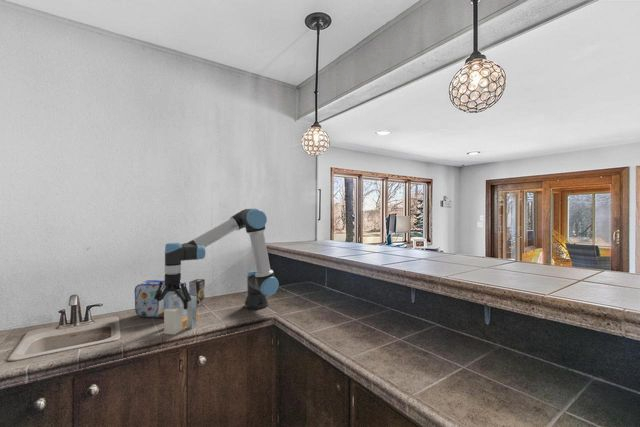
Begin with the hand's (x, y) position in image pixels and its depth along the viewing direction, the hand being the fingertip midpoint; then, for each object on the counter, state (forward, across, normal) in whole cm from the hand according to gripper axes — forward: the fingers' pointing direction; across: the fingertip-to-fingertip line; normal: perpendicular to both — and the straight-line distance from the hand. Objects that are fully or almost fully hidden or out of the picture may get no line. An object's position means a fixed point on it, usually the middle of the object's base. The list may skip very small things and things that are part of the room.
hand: (172, 314), depth 154 cm
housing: (+9, 0, -8) cm, 12 cm away
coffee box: (+9, +16, -44) cm, 47 cm away
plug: (+9, 0, -8) cm, 12 cm away
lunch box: (+10, +24, -20) cm, 32 cm away
